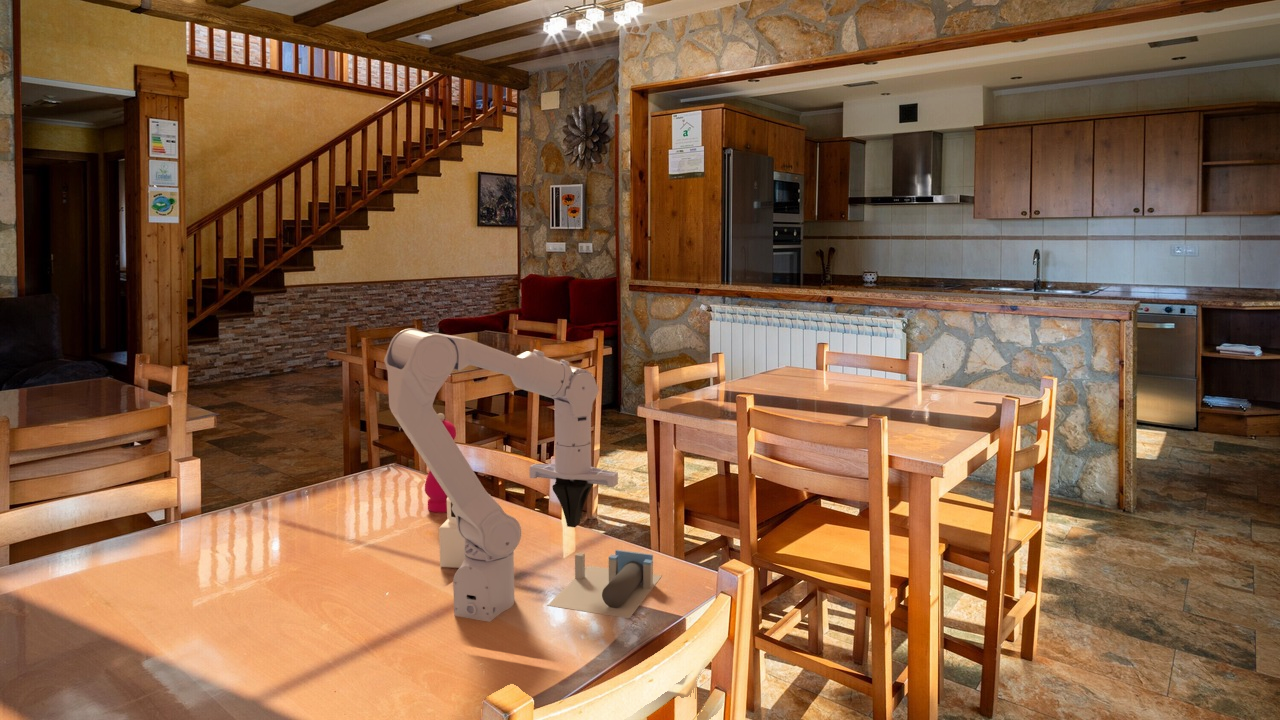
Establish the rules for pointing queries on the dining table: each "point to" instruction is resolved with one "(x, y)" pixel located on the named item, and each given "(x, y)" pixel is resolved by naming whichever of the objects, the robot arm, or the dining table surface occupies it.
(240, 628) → the dining table surface
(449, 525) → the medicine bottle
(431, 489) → the pepper mill
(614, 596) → the dark brown cylinder post
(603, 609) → the base plate with posts
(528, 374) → the robot arm
